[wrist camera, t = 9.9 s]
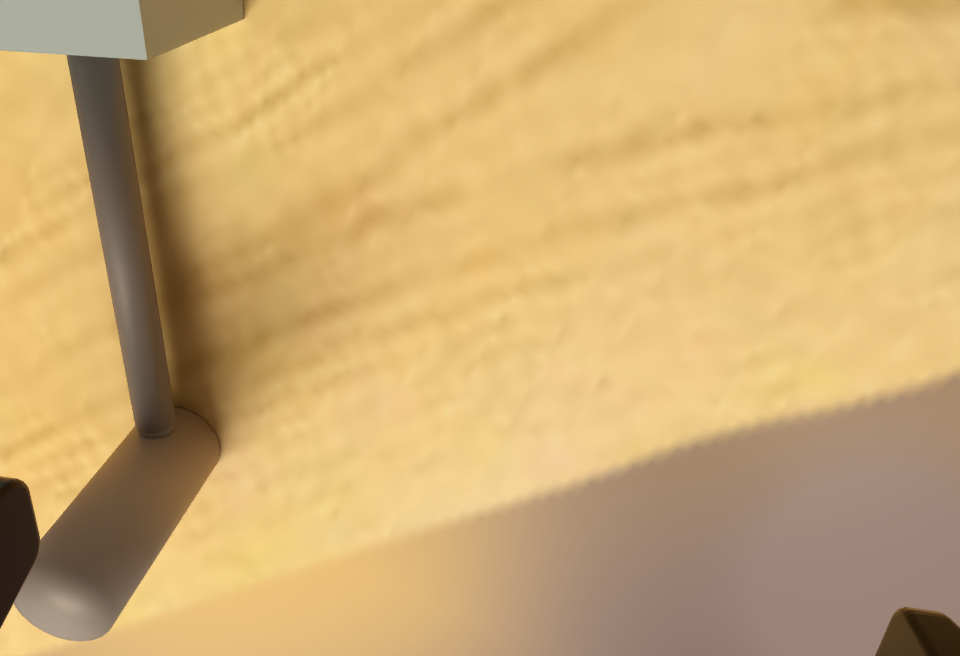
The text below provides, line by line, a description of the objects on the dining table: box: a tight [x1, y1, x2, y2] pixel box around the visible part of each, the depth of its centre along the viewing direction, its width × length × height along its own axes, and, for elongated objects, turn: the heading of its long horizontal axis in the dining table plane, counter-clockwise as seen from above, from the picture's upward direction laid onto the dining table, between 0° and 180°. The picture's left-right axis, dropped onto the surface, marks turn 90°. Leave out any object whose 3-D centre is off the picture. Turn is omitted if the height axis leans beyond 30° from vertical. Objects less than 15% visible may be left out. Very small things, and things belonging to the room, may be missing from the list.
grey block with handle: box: [0, 0, 244, 641], centre depth 17 cm, size 6×20×6 cm, turn 178°
